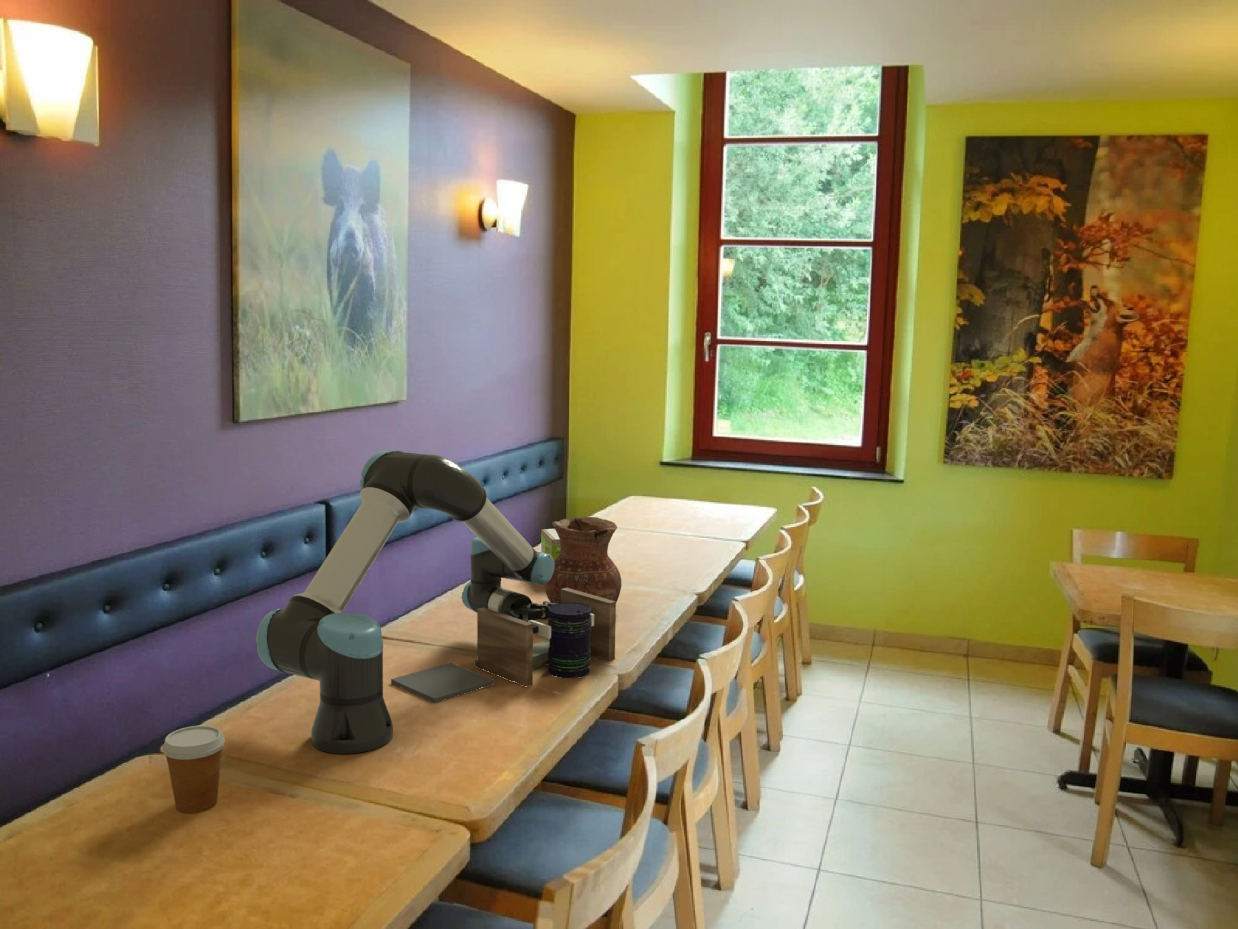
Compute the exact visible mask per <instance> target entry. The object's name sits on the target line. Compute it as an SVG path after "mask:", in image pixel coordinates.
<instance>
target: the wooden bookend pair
mask: <svg viewBox="0 0 1238 929" xmlns="http://www.w3.org/2000/svg"><path fill="white" fill-rule="evenodd" d="M567 602H572V603H582V604H586V605H588V606H590V607H591V614H594V626H591V632H590V645H589V647H590V649H591V654H590V655H592V656H595V657H597V656H599V657H598V658H600V657H601V658H600V659H604V660H606V661H612V660H614V659H616V622H617V620H616V618H617V616H616V615H617V614H616V613H617V608H616V607H617V602H615V601H612V600H608V599H605V598H601V597H598V596H594V595H591V594H587V593H584V592H580V591H577V590H573V589H570V588H563V589H561V603H567ZM476 614H477V616H476V617H477V619H476V622H477V624H476V625H477V626H476V628H477V629H476V630H477V631H476V632H477V633H476V634H477V636H476V639H477V640H476V641H477V644H476V645H477V647H476V649H477V652H476V653H477V654H476V656H477V658H476V659H475V660H474V667H475V666H476V667H478V668H477V669H479V668H480V669H479V670H481V669H484V670H486V671H489V672H490V673H489V672H488V673H489V674H491V673H493V674H492V675H494V674H495V675H494V676H496V675H499V676H501V677H504V678H506V679H508V680H507V681H509V680H511V681H515V682H517V683H519V684H521V685H523V686H522V687H524V686H528V687H530V686H529V685H531V686H533V685H534V684H533V683H534V681H533V679H534V675H533V672H534V671H533V670H534V669H533V647H534V646H537V645H540V644H543V643H546V642H549V641H550V638H549V639H546V640H542V641H539V642H535V643H534V634H533V624H532V623H529V621H528V622H526V621H523V620H520V619H517V618H514V617H511V616H508V615H505V614H502V613H499V612H496V611H493V610H490V609H487V608H480V609H477V613H476ZM476 667H475V668H476ZM484 670H483V671H484ZM486 671H485V672H486ZM499 676H498V677H499ZM501 677H500V678H501ZM504 678H503V679H504ZM506 679H505V680H506ZM511 681H510V682H511ZM519 684H518V685H519ZM532 684H533V685H532ZM521 685H520V686H521Z"/></svg>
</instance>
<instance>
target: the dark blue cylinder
mask: <svg viewBox="0 0 1238 929" xmlns="http://www.w3.org/2000/svg"><path fill="white" fill-rule="evenodd" d="M590 613H591V607H590V606H588V605H586V604H582V603H572V602H567V603H558V604H554V605H551V606H550V607H549V618H548V619H547V622H548V624H547V625H549V626H551V638H549V639H550V646H549V648H548V668H547V670H548V671H547V673H548V672H549V673H548V674H549V675H550V676H552V675H553V677H554V676H557V677H556V678H558V677H561V678H560V679H565V678H574V679H579V678H578V677H581V678H584V677H586V675H587V676H588V675H590V673H591V661H592V659H591V658H592V656H591V655H592V654H591V649H590V647H589V645H590V632H591V614H590ZM583 676H584V677H583Z"/></svg>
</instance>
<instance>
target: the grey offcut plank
mask: <svg viewBox="0 0 1238 929" xmlns="http://www.w3.org/2000/svg"><path fill="white" fill-rule="evenodd" d="M549 646H550V641H549V642H546V643H543V644H540V645H537V646H534V647H533V664H535V663H538V662H541V661H544V660H547V659H548V648H549Z"/></svg>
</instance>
